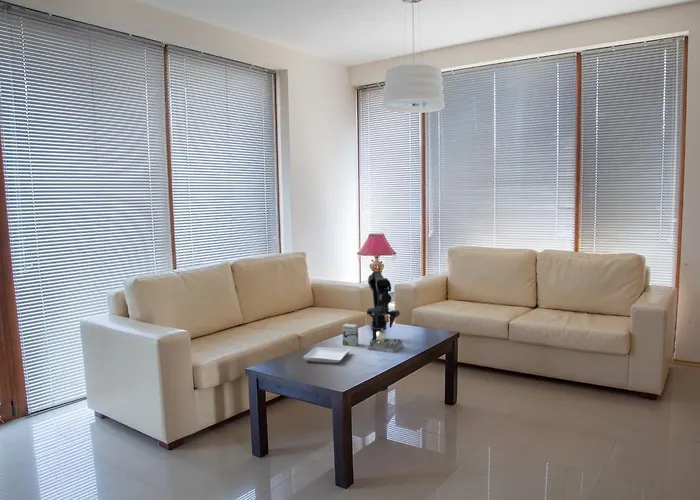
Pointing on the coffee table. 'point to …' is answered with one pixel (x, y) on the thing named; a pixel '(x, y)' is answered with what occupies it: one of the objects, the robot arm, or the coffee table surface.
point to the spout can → (381, 336)
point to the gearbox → (385, 345)
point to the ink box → (350, 334)
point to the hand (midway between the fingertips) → (383, 326)
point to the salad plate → (326, 354)
